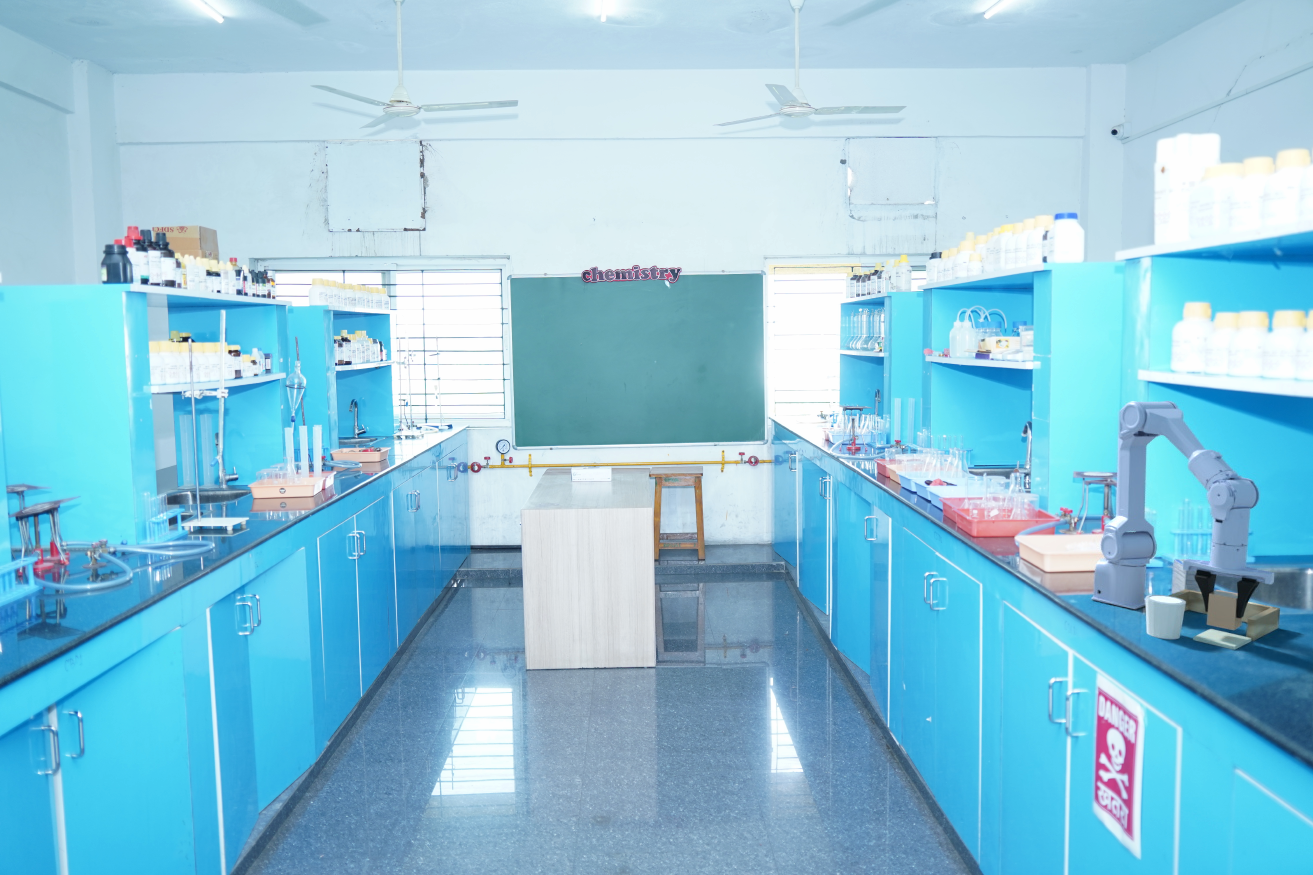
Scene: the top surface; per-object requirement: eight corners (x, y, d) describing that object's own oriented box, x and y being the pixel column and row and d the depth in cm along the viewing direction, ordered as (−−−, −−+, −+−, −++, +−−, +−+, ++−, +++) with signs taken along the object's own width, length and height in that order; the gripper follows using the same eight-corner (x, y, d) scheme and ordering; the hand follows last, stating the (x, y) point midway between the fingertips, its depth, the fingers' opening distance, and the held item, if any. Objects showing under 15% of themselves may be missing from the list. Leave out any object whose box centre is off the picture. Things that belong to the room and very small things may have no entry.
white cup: (1191, 639, 173) (1194, 603, 172) (1156, 640, 172) (1159, 604, 172) (1169, 628, 180) (1171, 593, 179) (1135, 629, 179) (1137, 594, 178)
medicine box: (1206, 607, 194) (1209, 567, 193) (1183, 606, 195) (1186, 566, 194) (1192, 597, 202) (1195, 559, 201) (1170, 596, 203) (1173, 558, 202)
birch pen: (1156, 618, 186) (1157, 599, 186) (1184, 607, 194) (1185, 588, 194) (1253, 640, 172) (1254, 620, 172) (1278, 627, 181) (1280, 608, 180)
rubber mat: (1193, 639, 173) (1193, 636, 173) (1210, 631, 178) (1210, 628, 178) (1234, 649, 167) (1234, 646, 167) (1251, 641, 172) (1251, 637, 172)
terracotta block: (1206, 624, 173) (1209, 593, 172) (1214, 620, 176) (1216, 589, 175) (1233, 630, 169) (1236, 598, 169) (1241, 625, 172) (1243, 594, 172)
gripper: (1280, 546, 168) (1275, 618, 169) (1193, 533, 179) (1188, 601, 180) (1270, 552, 163) (1264, 626, 165) (1181, 538, 174) (1176, 608, 175)
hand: (1224, 613), depth 172 cm, fingers closed on terracotta block, 4 cm apart
